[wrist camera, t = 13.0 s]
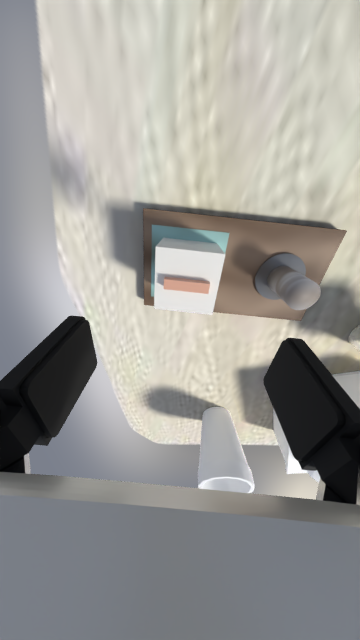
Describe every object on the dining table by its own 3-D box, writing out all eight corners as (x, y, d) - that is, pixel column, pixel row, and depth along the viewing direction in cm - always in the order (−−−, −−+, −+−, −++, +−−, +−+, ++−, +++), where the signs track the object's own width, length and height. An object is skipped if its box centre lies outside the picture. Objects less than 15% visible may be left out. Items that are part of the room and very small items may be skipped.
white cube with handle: (217, 243, 22) (227, 256, 16) (207, 293, 25) (213, 318, 19) (163, 237, 22) (154, 248, 16) (161, 288, 25) (152, 312, 19)
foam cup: (220, 396, 39) (232, 471, 28) (245, 416, 42) (265, 490, 31) (187, 413, 43) (186, 486, 32) (213, 430, 46) (220, 501, 35)
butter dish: (353, 421, 42) (432, 524, 28) (270, 429, 45) (305, 525, 31) (374, 367, 33) (502, 477, 20) (269, 381, 36) (317, 484, 23)
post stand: (146, 208, 22) (127, 208, 15) (337, 229, 22) (398, 238, 16) (146, 300, 28) (133, 327, 22) (295, 315, 28) (326, 347, 22)
